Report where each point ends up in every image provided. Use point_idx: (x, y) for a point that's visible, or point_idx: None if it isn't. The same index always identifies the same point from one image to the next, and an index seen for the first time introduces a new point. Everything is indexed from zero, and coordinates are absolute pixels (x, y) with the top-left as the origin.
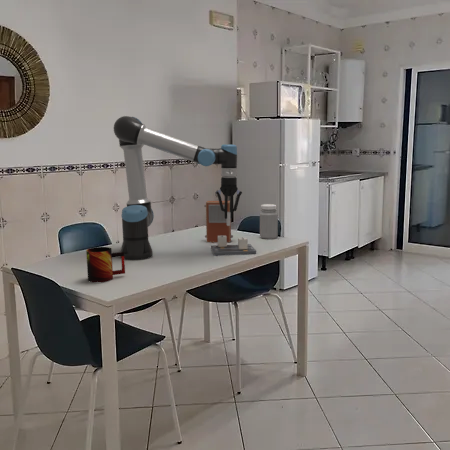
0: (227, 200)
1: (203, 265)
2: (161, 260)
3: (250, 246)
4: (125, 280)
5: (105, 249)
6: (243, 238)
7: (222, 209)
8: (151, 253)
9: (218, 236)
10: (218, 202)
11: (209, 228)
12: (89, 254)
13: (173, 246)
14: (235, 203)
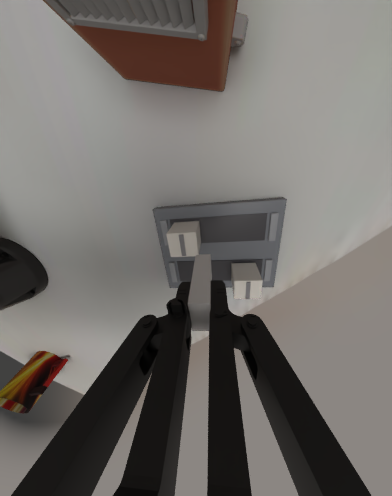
0: (176, 459)
1: None
2: (78, 299)
3: (274, 239)
4: (80, 367)
5: (12, 395)
6: (249, 294)
7: (153, 351)
8: (40, 281)
9: (170, 247)
10: None
11: (99, 40)
12: (13, 405)
13: (34, 159)
14: (266, 411)
